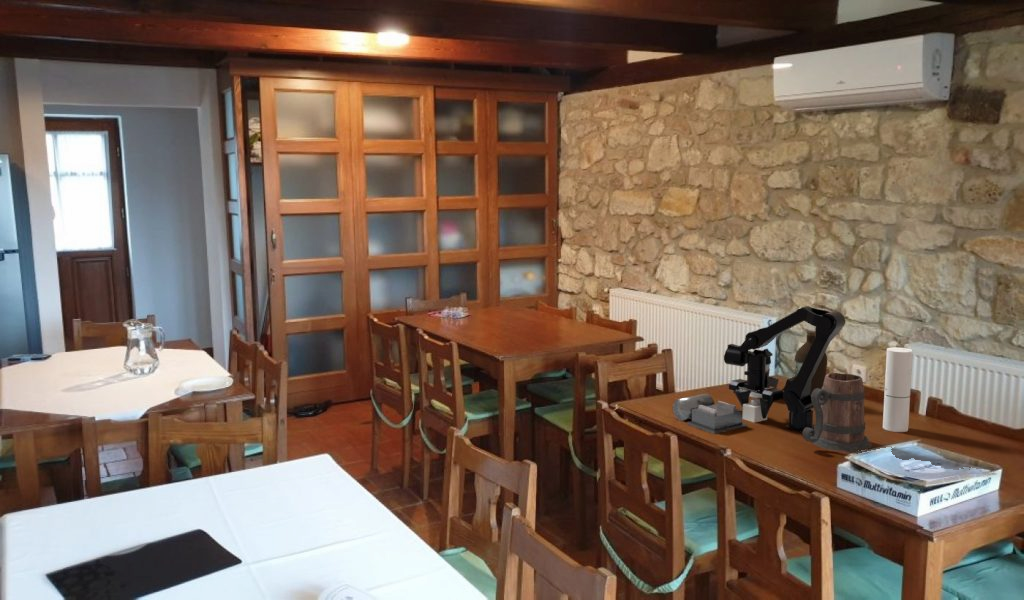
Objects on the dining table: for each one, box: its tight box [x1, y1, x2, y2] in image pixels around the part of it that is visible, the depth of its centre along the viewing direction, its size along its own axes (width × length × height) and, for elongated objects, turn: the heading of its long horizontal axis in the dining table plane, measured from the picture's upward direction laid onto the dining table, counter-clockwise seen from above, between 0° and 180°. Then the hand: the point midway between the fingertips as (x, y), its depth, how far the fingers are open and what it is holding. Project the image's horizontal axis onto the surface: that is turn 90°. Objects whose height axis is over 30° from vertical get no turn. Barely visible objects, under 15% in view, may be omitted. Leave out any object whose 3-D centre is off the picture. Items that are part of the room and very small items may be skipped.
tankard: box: [802, 372, 872, 453], centre depth 235 cm, size 24×17×20 cm
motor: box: [672, 393, 748, 435], centre depth 259 cm, size 20×14×7 cm
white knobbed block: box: [742, 398, 769, 423], centre depth 262 cm, size 5×6×6 cm
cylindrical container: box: [882, 346, 914, 433], centre depth 248 cm, size 7×7×25 cm
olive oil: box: [794, 330, 828, 395], centre depth 279 cm, size 11×11×25 cm
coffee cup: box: [749, 356, 772, 399], centre depth 288 cm, size 8×8×15 cm
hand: (755, 415), depth 262 cm, fingers open, 7 cm apart
